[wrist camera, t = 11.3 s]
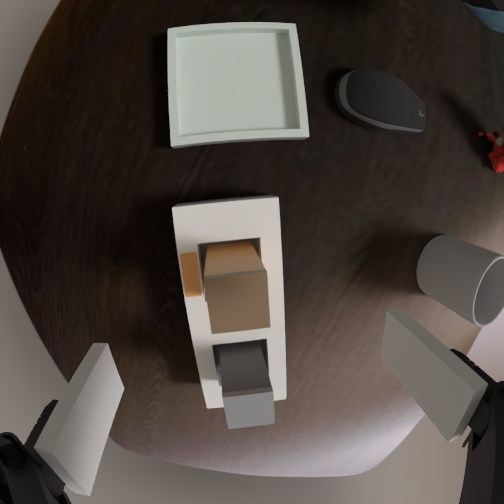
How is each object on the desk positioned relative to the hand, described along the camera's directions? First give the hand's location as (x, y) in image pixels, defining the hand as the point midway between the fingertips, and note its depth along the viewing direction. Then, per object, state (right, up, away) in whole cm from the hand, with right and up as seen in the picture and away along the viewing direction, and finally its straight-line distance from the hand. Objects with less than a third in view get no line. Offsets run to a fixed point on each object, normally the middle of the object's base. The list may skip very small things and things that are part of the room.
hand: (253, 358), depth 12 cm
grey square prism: (-1, -6, +18) cm, 19 cm away
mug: (+27, +2, +22) cm, 35 cm away
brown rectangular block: (-2, +4, +16) cm, 16 cm away
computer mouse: (+15, +22, +16) cm, 31 cm away
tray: (-2, +22, +13) cm, 26 cm away
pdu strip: (-2, -1, +19) cm, 19 cm away
